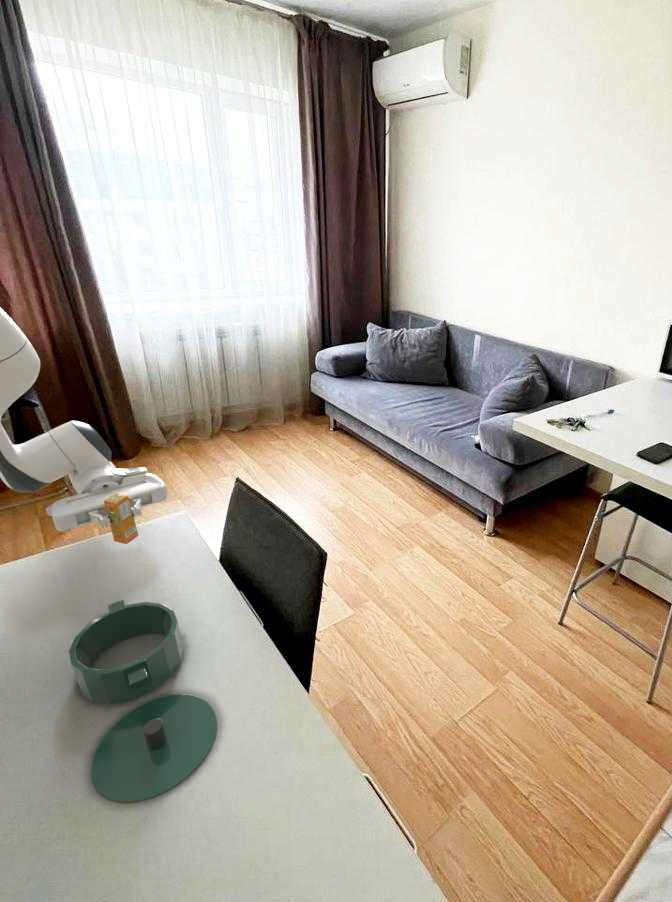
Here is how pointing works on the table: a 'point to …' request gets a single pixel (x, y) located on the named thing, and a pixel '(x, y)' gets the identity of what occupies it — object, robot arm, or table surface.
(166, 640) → the pot
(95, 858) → the table surface
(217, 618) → the table surface
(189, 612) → the table surface
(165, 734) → the pot lid
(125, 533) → the supplement box
